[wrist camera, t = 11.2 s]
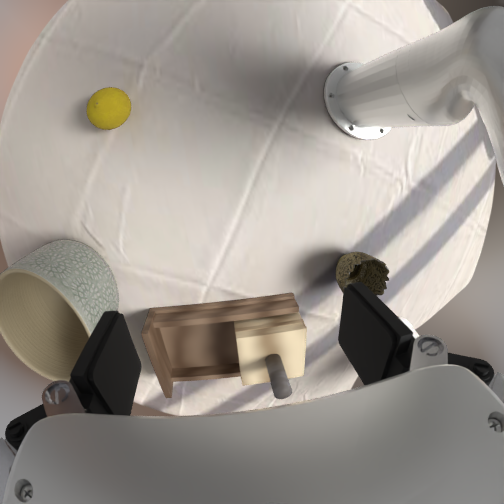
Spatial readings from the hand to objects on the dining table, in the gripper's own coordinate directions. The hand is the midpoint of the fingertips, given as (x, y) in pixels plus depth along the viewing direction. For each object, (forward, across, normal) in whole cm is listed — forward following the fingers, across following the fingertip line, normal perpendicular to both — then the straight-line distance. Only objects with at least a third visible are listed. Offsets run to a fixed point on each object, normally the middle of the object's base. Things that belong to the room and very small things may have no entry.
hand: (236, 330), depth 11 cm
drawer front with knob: (+27, -5, +22) cm, 35 cm away
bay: (+28, +2, +22) cm, 36 cm away
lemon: (+28, +13, -15) cm, 35 cm away
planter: (+28, +24, +9) cm, 38 cm away
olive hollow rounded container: (+28, -19, +11) cm, 36 cm away
